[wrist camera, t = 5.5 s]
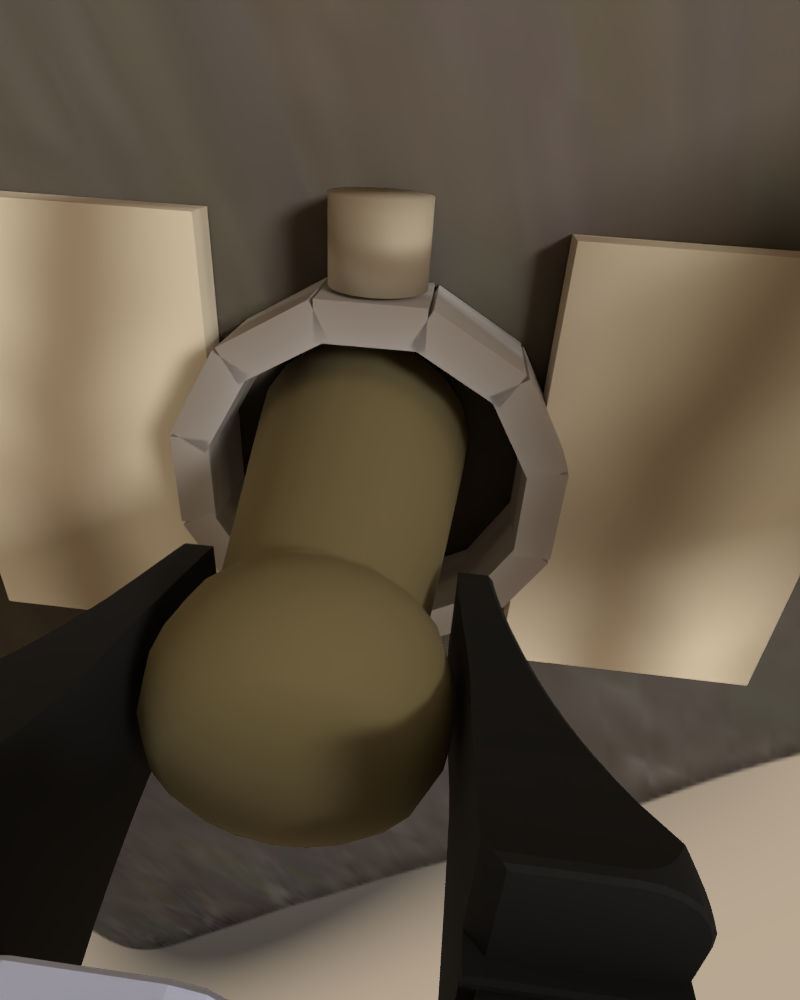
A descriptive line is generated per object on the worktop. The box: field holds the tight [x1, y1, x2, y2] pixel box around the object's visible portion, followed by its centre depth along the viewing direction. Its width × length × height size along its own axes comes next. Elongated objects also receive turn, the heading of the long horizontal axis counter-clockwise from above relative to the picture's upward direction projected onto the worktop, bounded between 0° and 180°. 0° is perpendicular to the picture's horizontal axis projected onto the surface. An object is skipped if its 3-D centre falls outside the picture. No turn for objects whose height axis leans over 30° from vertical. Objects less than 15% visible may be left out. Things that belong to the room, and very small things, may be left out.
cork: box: [136, 344, 469, 848], centre depth 14 cm, size 6×6×11 cm
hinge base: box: [0, 187, 800, 686], centre depth 18 cm, size 25×14×2 cm, turn 87°
